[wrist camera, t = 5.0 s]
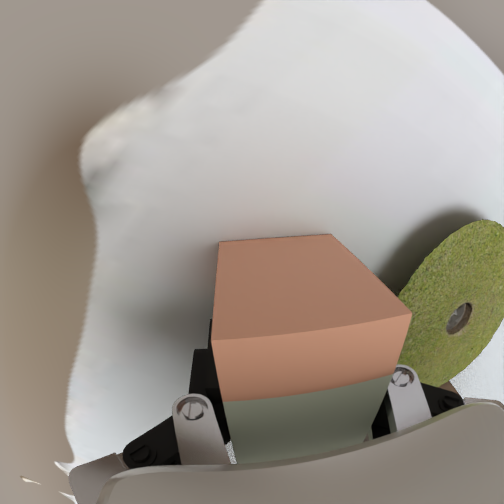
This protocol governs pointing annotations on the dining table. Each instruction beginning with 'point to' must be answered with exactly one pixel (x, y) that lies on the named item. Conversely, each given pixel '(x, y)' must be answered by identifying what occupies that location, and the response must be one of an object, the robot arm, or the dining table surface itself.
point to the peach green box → (301, 345)
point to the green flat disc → (454, 302)
